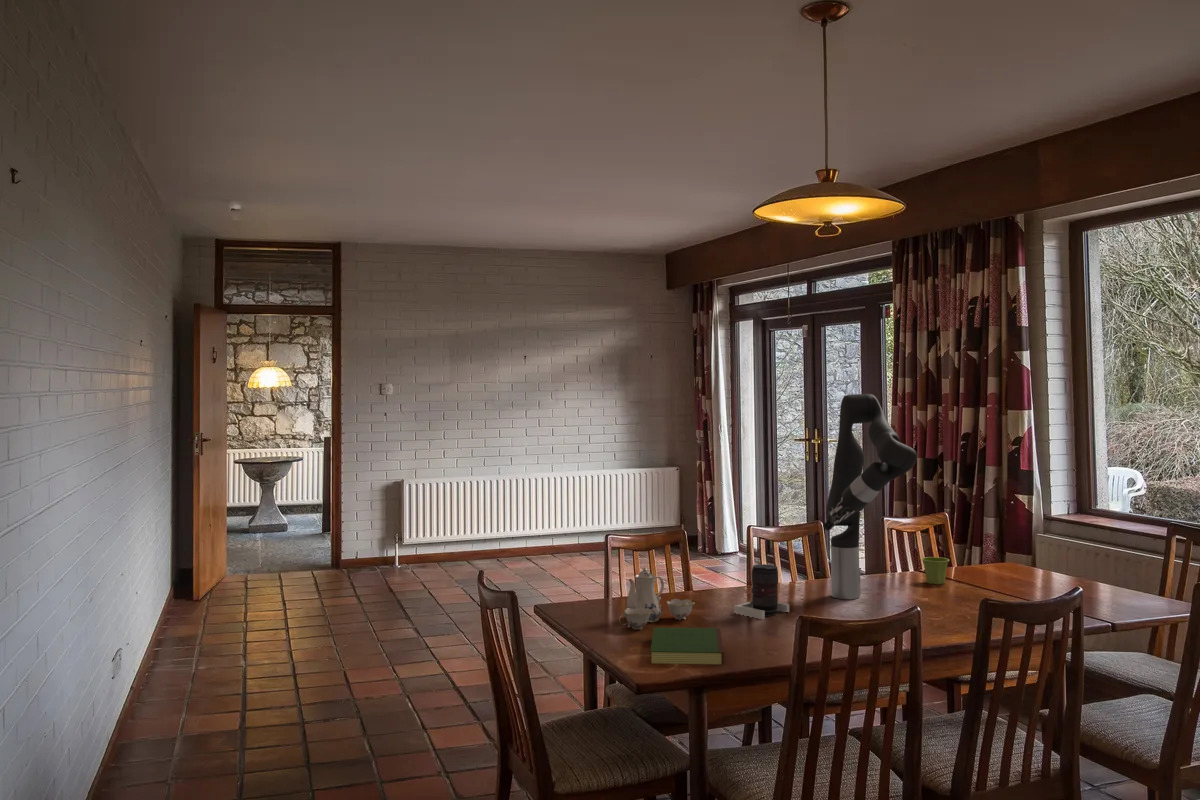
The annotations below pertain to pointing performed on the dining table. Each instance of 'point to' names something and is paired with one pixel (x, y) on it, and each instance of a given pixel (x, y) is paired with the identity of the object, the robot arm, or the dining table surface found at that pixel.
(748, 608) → the mount cradle
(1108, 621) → the dining table surface
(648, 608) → the chinaware
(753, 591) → the camera lens
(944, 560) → the plant pot
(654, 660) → the hardcover book
